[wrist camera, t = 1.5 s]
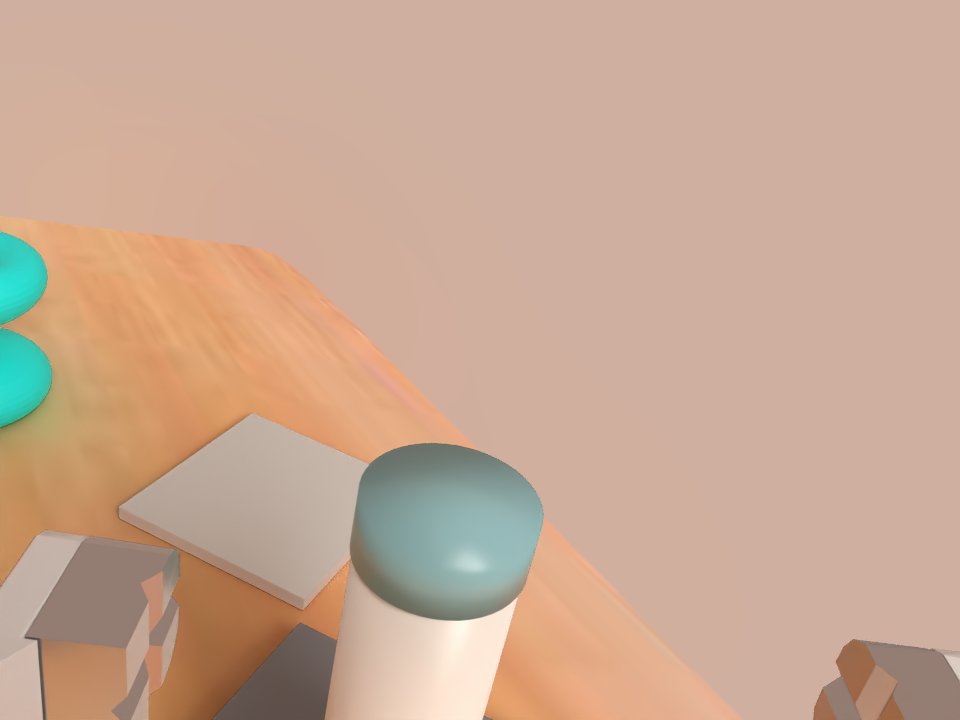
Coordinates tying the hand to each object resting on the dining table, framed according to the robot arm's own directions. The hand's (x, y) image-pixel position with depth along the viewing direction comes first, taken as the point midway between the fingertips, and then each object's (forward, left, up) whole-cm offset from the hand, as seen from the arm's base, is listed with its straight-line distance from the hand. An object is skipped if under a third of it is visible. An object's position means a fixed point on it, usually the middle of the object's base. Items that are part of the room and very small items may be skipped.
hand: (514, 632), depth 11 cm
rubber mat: (-21, +28, -27) cm, 44 cm away
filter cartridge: (-5, +11, -25) cm, 28 cm away
